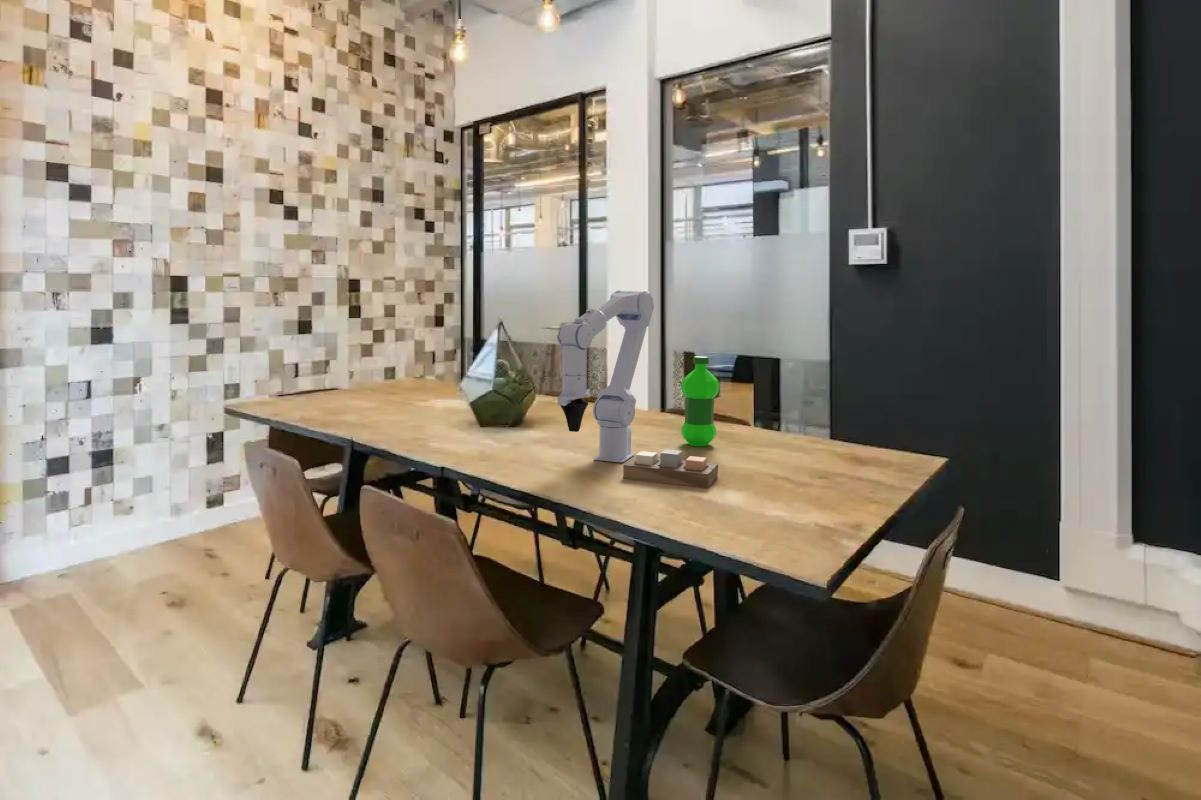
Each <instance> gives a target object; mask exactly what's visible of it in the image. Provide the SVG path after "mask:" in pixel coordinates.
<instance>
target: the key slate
mask: <svg viewBox="0 0 1201 800" xmlns="http://www.w3.org/2000/svg"><path fill="white" fill-rule="evenodd" d="M659 458H660V466H664V467H673V468H679V467H680V466H681V465H682V460H683V451H682V450H675V449H674V450H673V449H664V450H663V451H661V452H660V457H659Z"/></svg>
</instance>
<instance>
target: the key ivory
mask: <svg viewBox="0 0 1201 800" xmlns="http://www.w3.org/2000/svg"><path fill="white" fill-rule="evenodd" d="M635 457H636V464H645V465H655V464H656V463H657V458H658V452H653V451H652V452H651V451H643V450H641V451H639V452H638V453H637V454H635Z"/></svg>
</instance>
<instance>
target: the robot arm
mask: <svg viewBox="0 0 1201 800" xmlns="http://www.w3.org/2000/svg"><path fill="white" fill-rule="evenodd" d="M654 308H655V304H654V299H653V296H652V294H651V292H650V291H648V290H643V291H637V290H636V291H635V290H633V291H631V290H630V291H629V290H627V291H626V290H623V291H622V290H616V291H614V292H613V293H610V297H609V300H607V301H606V302H605V303H604V304H603V305H602V306H600V307H599V308H598V309H597V308H587V309H586V310H585V313H584V314H582V315H581V316H580V317H576V318H575V319H574V321H573V322H571V323H568V322H566V323H564V324H563V325H562V326H561V327H560V328H559V330H558V333H557V335H556V340H557V344H558V345H559V349H560V350H559V352H560V354H561V356H562V357H561V358H562V366H561V367H562V368H561V369H562V371H561V372H562V378H561V379H562V380H561V381H562V384H561V385H562V386H561V387H562V392H561V393H560V395H559V396H557V406H560V408H561V409H562V411H563V413H564V416H565V419H566V424H567V428H568V432H571V433H573V432H575V433H578V432H580V429H581V425H582V421H583V417H584V414H585V411H586V410H587V407H588V405H589V400H583V399H585V398H588V399H589V398H590V397H592V393H591V389H590V388H589V389H588V388H587V384H588V383H587V379H588V378H587V377H588V375H587V374H588V373H587V371H588V369H587V368H588V366H587V365H588V364H587V359H588V355H587V354H588V353H587V352H588V348H590V347H591V345H592V343H593V339H594V338H595V337H596V336H597V335H598V334H599V333H601V332H603V330H605V329H606V326H607V322H608V321H610V320H611V319H613V318H614V317H616V320H617V321H618V324H619V325H620V326H622V327H623V328H624V334H623V338H622V341H621V344H620V348H619V352H618V354H617V358H616V362H615V365H614V369H613V372H612V376H611V378H610V382H609V385H608V386H607V387H605V388H604V389H602V390H601V391H599V395H598V397H597V399H596V400H595V402H594V404H593V406H592V415H593V418H594V419H595V420H596V422H597V423H596V424H597V425H599V454H598V455H597V456H595V457H593V460H594V461H601V462H602V461H603V462H611V463H612V462H613V463H619V464H621V463H624V462H626V461H627V460H629V459H630V458H632V457H634V456H635V453H634V452H632V430H631V428H630V425H631V424H632V422H633V421H634V418H635V415H636V404H637V399H636V397H635V396H634V395H633V394H632V392H631V386H632V382H633V379H634V375H635V372H636V369H637V365H638V362H639V357H640V354H641V350H642V346H643V343H644V339H645V336H646V332H647V328H648V327H649V326H650V323H651V319H652V316H653V312H654Z"/></svg>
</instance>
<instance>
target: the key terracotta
mask: <svg viewBox="0 0 1201 800" xmlns="http://www.w3.org/2000/svg"><path fill="white" fill-rule="evenodd" d="M685 461H686V464H685V469H692V470H702V471H704V470H705V469H707V463H708V458H707V457H702V456H691V455H689V456H688V457H687V458H686V459H685Z"/></svg>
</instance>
